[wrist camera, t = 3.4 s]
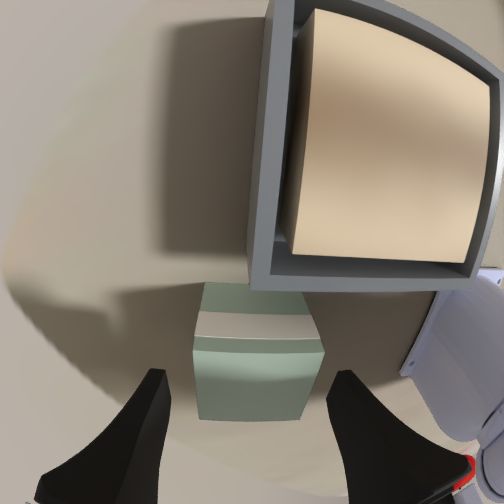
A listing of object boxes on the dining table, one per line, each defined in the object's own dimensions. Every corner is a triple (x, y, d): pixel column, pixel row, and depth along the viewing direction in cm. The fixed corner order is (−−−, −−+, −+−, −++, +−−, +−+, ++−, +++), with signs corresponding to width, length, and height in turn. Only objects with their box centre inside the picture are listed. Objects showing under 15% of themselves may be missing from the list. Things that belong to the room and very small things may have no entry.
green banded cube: (285, 353, 16) (299, 419, 11) (205, 350, 15) (198, 419, 11) (299, 285, 14) (325, 352, 9) (204, 280, 14) (191, 349, 9)
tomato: (424, 473, 41) (436, 503, 31) (466, 445, 38) (480, 475, 27) (434, 472, 45) (445, 498, 34) (470, 447, 41) (483, 473, 31)
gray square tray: (430, 256, 14) (471, 289, 10) (245, 245, 13) (249, 289, 9) (455, 78, 9) (504, 74, 6) (265, 16, 9) (277, -28, 5)
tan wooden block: (429, 239, 12) (463, 262, 10) (278, 225, 12) (292, 254, 9) (449, 88, 9) (489, 86, 6) (296, 36, 8) (315, 8, 6)
